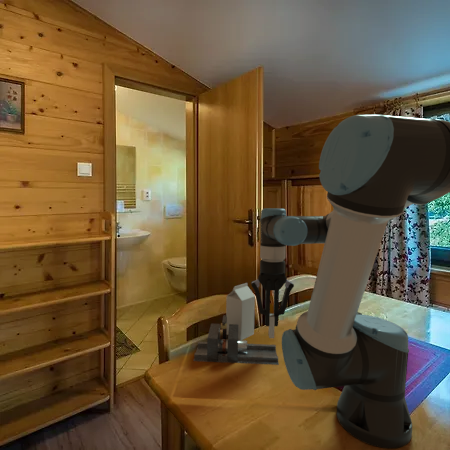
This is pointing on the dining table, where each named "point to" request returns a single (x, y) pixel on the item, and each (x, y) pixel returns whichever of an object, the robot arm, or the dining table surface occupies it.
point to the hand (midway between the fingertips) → (271, 336)
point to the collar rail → (233, 348)
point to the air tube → (224, 346)
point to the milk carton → (241, 310)
